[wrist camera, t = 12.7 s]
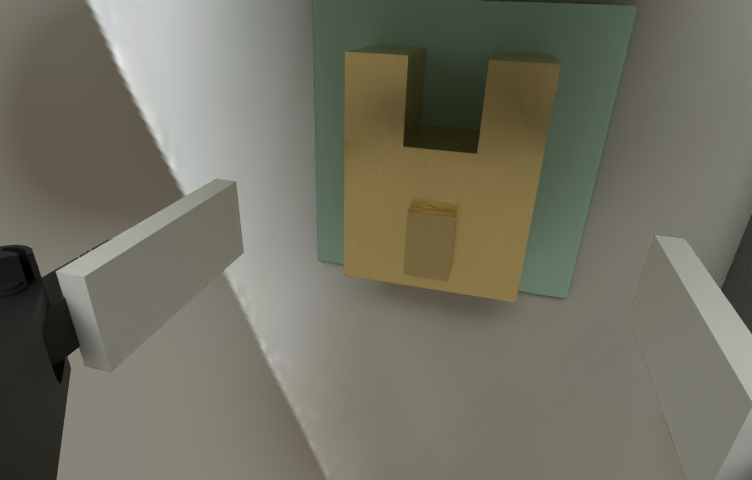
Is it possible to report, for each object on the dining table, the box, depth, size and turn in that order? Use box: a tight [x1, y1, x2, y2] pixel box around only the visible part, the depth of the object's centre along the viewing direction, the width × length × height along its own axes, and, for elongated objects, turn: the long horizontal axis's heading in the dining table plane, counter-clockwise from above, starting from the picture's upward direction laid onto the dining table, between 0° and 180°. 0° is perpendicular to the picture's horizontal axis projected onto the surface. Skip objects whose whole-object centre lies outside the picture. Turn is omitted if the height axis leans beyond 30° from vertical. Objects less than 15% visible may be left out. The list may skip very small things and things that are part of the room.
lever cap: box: [344, 45, 561, 303], centre depth 22 cm, size 10×8×5 cm
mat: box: [313, 0, 638, 299], centre depth 24 cm, size 14×14×1 cm
